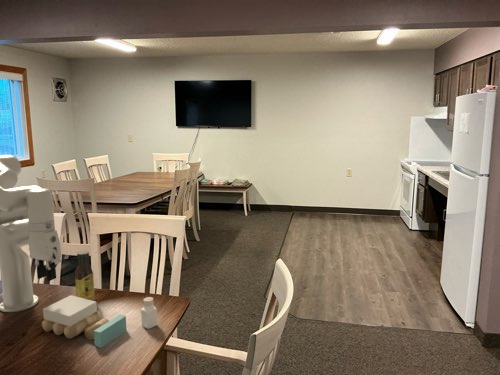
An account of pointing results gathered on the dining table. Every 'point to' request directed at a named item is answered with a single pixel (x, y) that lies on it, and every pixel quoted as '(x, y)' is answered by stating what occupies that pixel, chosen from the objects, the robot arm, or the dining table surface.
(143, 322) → the pepper shaker
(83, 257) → the sauce bottle
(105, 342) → the block
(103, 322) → the roller
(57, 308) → the slab
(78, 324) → the roller track
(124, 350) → the dining table surface
